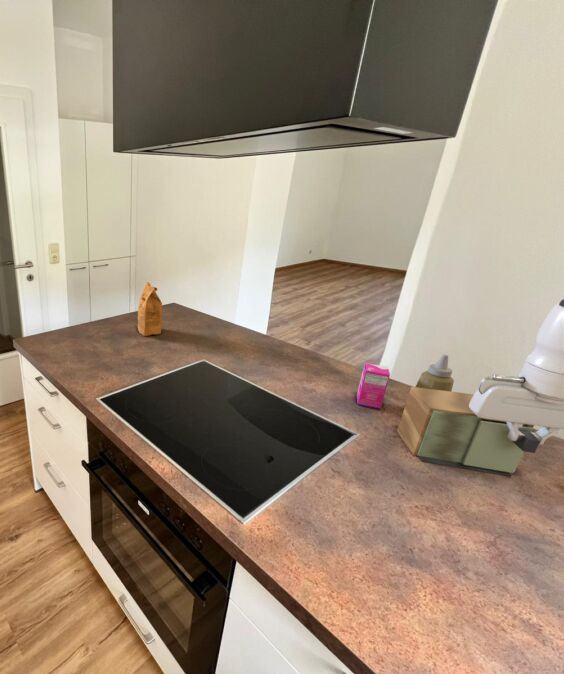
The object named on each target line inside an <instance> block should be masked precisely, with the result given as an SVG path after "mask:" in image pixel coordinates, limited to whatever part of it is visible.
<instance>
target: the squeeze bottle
mask: <svg viewBox="0 0 564 674" xmlns="http://www.w3.org/2000/svg"><path fill="white" fill-rule="evenodd" d="M452 374H453V370H452V368H450V367H449V355H448V354H445V353H444V354H443V353H442V355H441V356H440V357H439V359H438V360H437V362H435V364H434V363H433V364H429V366H428V368H427V370H426V371H424V372H421V374H420V377H419V378H418V381H417V382H416V384H415V386H414V387H417V388H425V389H434V390H442V391H450V392H453V387H454V382H455V380H454V378H453V377H451V376H452Z"/></svg>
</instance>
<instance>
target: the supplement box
mask: <svg viewBox="0 0 564 674" xmlns="http://www.w3.org/2000/svg"><path fill="white" fill-rule="evenodd" d="M390 377H391V373H390V369H389V366H387V365H379V364H374V363H368V362H365V363H364V364H363V369H362V373H361V377H360V381H359V385H358V389H357V393H356V402H357V403H356V404H357V406H360V407H364V408H368V409H373V410H377V411H381V409H382V406H383V403H384V398H385V394H386V391H387V387H388V384H389V380H390Z"/></svg>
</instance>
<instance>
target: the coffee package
mask: <svg viewBox="0 0 564 674" xmlns="http://www.w3.org/2000/svg"><path fill="white" fill-rule="evenodd" d="M151 285H152V284H151V283H150V282H149V281H146V283H145V285H144V288H143V290H142V293H141V294H140V298H139V303H138V308H137V330H138V332H139V334H140V335H142V336H143V337H148V336H152V335H153V336H154V335H155V336H157V335H161V334H162V325H163V319H162V317H163V302H162V301H161V299H160V297H159V295H158V294H157V291H158V288H157V287H155V286H151Z"/></svg>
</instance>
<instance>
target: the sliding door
mask: <svg viewBox="0 0 564 674" xmlns="http://www.w3.org/2000/svg"><path fill="white" fill-rule="evenodd" d="M518 430H519V431H520V432H521V433H522V434H524V435H525V437H524V438H523V439H522V440H523V441H522V442H518V441H511V440H510V439H509V438H508V436H507V435H508V433H509V431H510V429H509V427H508V425H507V424H502V423H495V422H488V421H480V423H479V425H478V427H477V430H476V432H475V434H474V437H473V439H472V441H471V444H470V446H469V448H468V451H467V453H466V455H465V458H464V460H463V462H462V463H463V464H464V465H469V466H475V467H481V468H486V469H492V470H498V471H504V472H509V473H510V474H515V472H516V470H517V467H518V466H519V464H520V462H521V460H522V458H523V456H524V454H525V453H532V454H535V453H536V451H537V450H538V447H539V446H540V445H539V443H540V441H539V440H538V439H537V438H535V437H534V436H533V435H532V434H530V432H533V433H535V432H536V428H535V427H533V428H531V427H524V426H522V427H521V428H519V427H518Z"/></svg>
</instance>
